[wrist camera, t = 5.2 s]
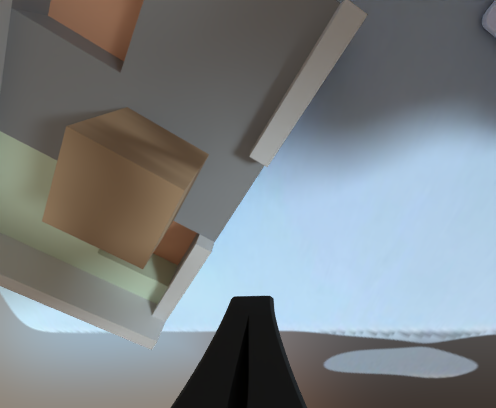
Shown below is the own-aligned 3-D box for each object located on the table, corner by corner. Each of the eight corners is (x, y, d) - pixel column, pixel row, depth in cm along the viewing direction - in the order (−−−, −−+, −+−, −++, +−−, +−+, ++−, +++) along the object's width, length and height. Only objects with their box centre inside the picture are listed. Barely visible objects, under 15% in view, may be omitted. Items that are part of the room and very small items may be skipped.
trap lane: (345, 25, 13) (382, 7, 9) (175, 292, 22) (151, 349, 18) (62, -183, 11) (-79, -349, 7) (-1, 210, 20) (-79, 252, 16)
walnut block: (209, 154, 14) (184, 190, 10) (174, 218, 16) (142, 269, 12) (127, 107, 13) (66, 126, 9) (101, 180, 15) (41, 221, 11)
